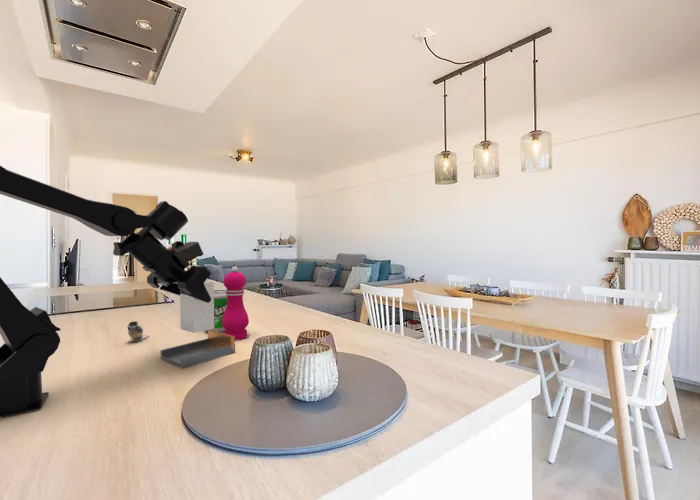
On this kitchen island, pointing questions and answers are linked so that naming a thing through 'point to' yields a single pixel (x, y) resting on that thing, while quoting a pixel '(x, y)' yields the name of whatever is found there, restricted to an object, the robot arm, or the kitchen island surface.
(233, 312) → the pepper mill
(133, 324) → the vase
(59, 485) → the kitchen island surface
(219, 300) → the soda can
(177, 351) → the cradle
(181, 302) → the block
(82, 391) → the kitchen island surface
